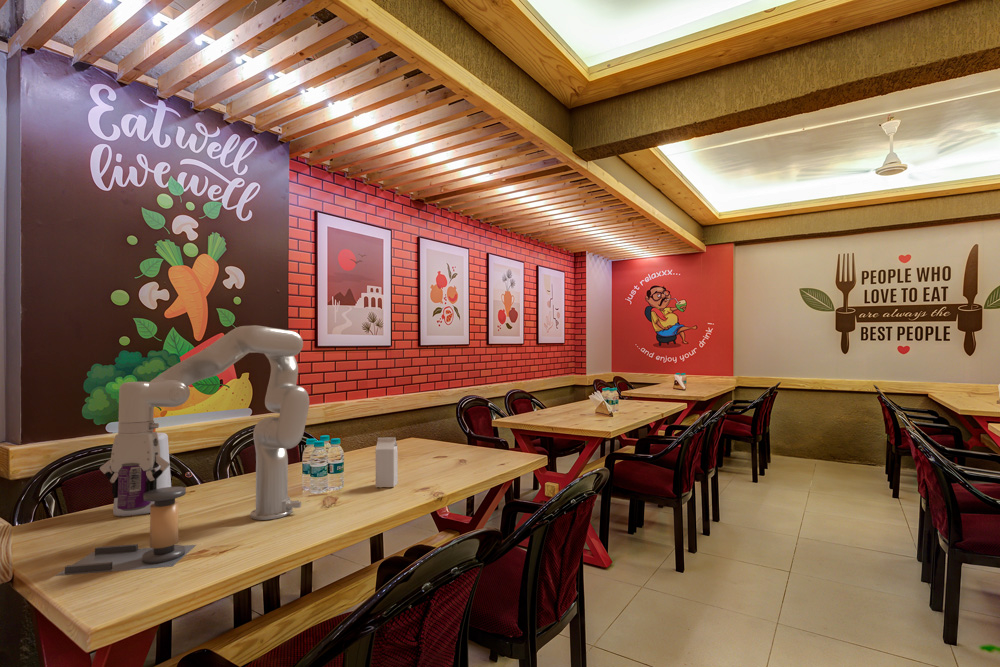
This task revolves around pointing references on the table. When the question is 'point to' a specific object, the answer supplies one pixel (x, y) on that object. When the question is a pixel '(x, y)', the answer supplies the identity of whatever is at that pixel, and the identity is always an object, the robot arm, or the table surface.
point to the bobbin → (164, 525)
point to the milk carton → (386, 462)
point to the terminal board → (116, 560)
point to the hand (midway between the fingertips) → (134, 495)
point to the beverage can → (131, 487)
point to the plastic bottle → (162, 480)
